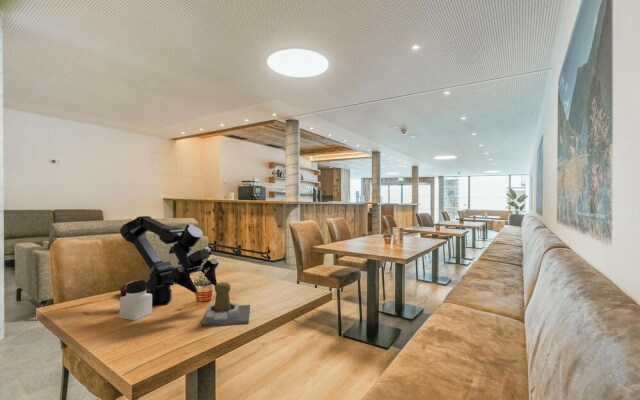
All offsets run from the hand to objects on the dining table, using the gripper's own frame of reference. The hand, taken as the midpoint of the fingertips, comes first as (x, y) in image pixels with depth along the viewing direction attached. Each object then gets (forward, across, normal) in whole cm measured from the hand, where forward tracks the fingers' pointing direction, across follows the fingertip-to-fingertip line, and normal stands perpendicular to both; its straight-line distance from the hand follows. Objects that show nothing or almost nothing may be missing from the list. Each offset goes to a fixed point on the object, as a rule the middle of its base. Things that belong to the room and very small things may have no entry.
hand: (206, 288), depth 108 cm
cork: (+11, 0, 0) cm, 11 cm away
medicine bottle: (-8, -13, +21) cm, 26 cm away
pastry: (-25, +3, +38) cm, 46 cm away
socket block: (+12, +2, 0) cm, 12 cm away
